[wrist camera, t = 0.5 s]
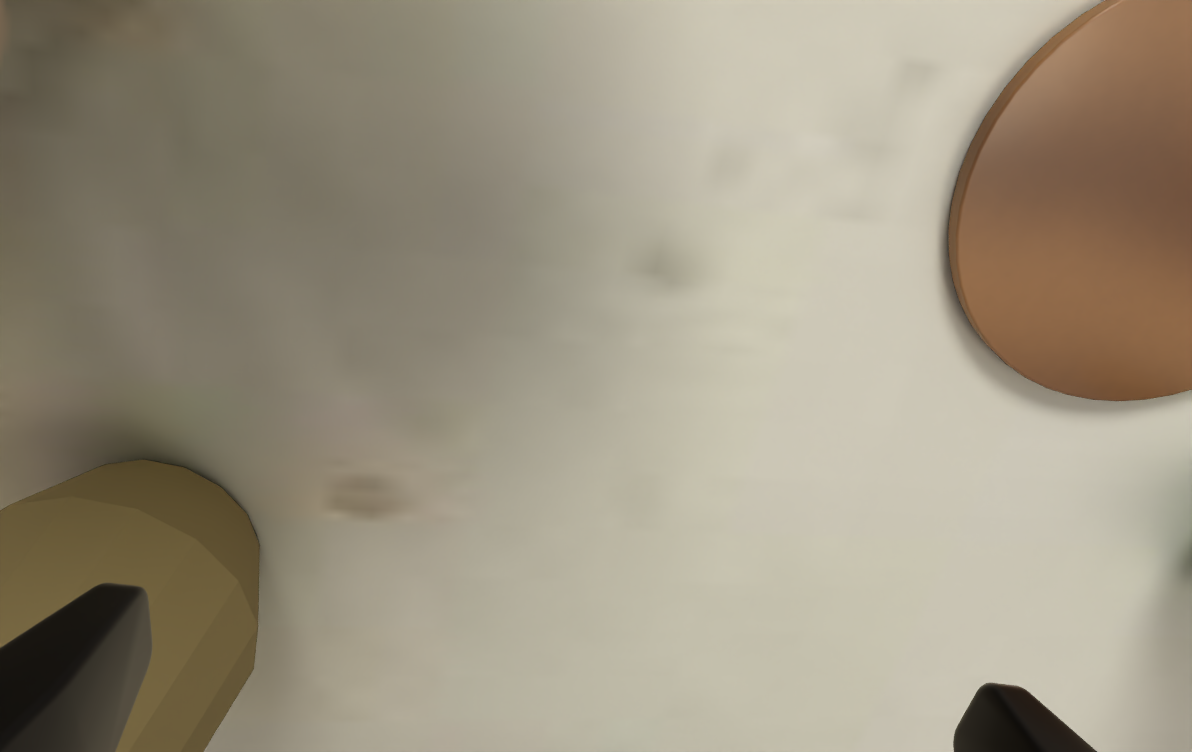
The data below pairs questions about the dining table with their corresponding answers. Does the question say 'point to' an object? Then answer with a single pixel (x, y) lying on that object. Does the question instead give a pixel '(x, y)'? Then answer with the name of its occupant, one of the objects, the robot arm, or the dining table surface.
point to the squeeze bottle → (145, 584)
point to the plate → (1086, 208)
